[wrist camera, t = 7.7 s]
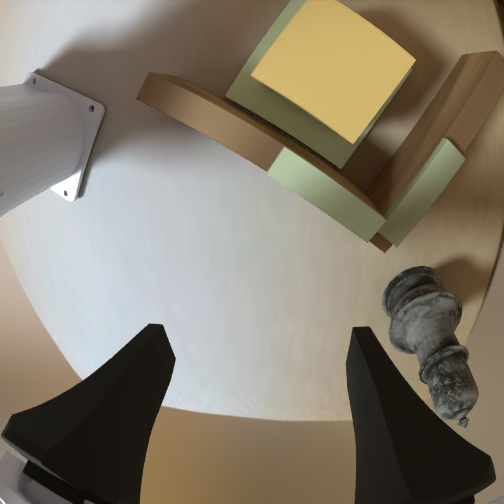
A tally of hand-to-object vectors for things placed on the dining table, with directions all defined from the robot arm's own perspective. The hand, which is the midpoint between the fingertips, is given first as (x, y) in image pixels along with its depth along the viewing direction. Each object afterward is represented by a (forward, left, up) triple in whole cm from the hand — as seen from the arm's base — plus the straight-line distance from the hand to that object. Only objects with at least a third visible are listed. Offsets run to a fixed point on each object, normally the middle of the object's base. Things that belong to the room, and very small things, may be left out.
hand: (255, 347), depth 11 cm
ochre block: (-3, +10, -10) cm, 14 cm away
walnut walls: (-3, +11, -10) cm, 15 cm away
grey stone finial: (+12, +2, -10) cm, 16 cm away
